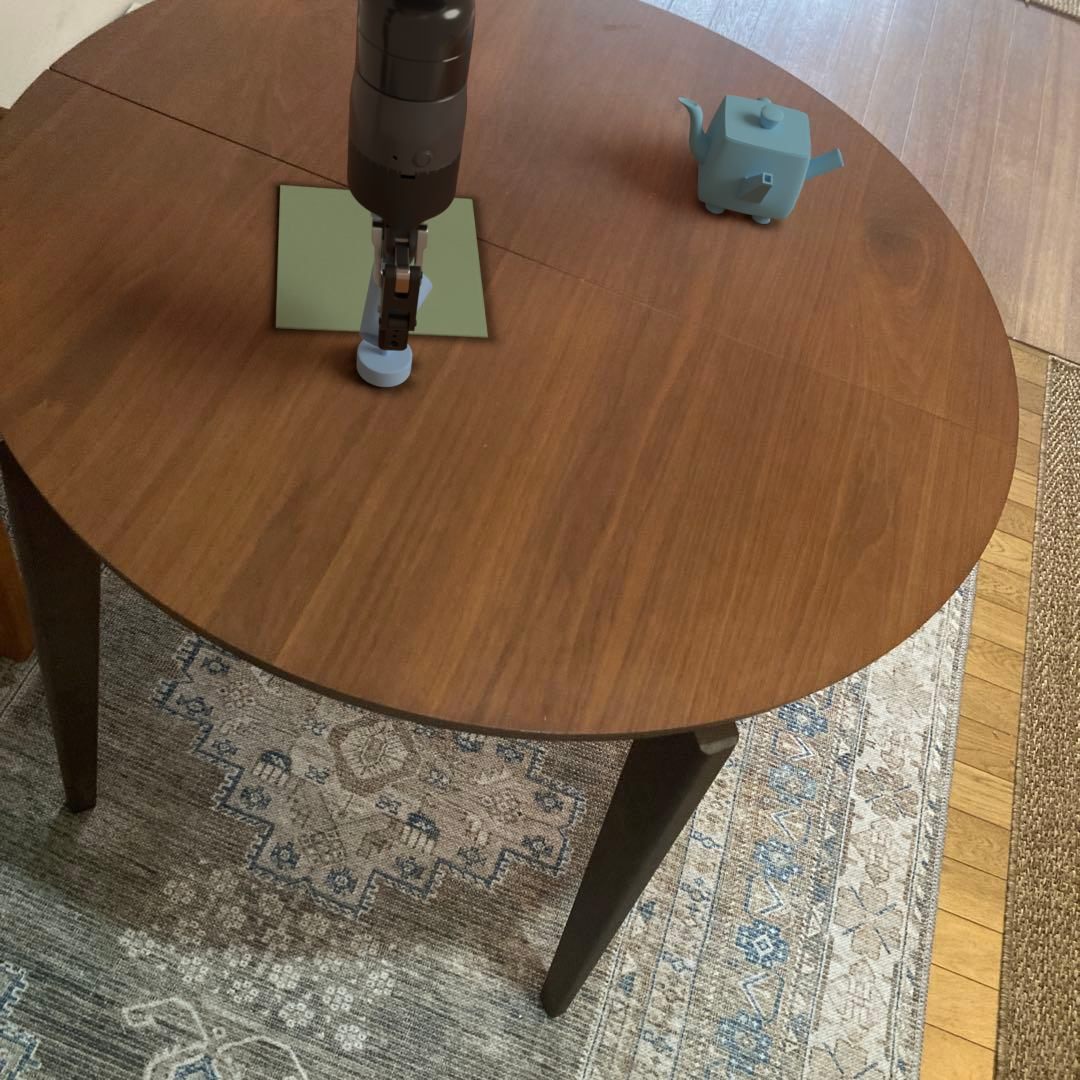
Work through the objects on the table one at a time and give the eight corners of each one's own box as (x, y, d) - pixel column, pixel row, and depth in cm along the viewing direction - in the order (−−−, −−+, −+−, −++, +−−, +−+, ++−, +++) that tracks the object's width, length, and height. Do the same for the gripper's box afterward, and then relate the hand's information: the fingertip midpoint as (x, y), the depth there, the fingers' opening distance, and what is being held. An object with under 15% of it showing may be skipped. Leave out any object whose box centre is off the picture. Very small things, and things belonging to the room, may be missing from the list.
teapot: (815, 178, 113) (855, 95, 104) (822, 264, 105) (865, 182, 96) (655, 141, 111) (683, 53, 103) (649, 226, 103) (678, 138, 95)
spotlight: (373, 326, 89) (341, 381, 85) (380, 234, 81) (345, 290, 77) (427, 345, 89) (398, 401, 85) (439, 255, 80) (408, 313, 77)
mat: (275, 328, 87) (275, 326, 87) (280, 186, 97) (280, 184, 96) (487, 337, 91) (487, 336, 91) (471, 200, 100) (472, 199, 100)
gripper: (347, 59, 71) (342, 245, 85) (349, 198, 64) (342, 378, 77) (456, 71, 73) (433, 251, 87) (470, 208, 65) (443, 382, 79)
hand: (390, 311), depth 82 cm, fingers closed on spotlight, 7 cm apart
